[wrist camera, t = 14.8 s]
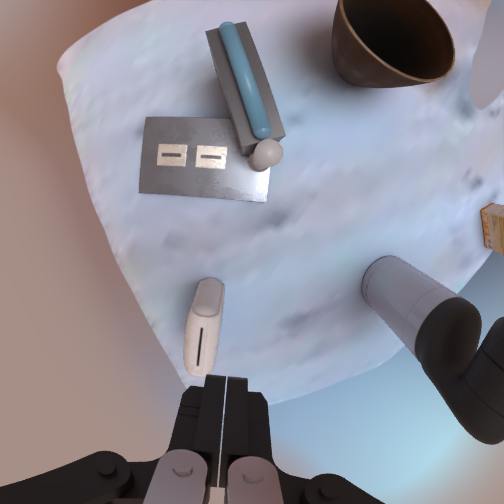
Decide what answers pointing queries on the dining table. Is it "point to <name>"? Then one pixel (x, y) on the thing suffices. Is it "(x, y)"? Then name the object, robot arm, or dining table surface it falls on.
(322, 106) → the dining table surface
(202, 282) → the photo printer
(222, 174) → the panel
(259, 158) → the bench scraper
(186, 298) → the dining table surface
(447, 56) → the plant pot
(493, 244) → the supplement box
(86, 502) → the robot arm
